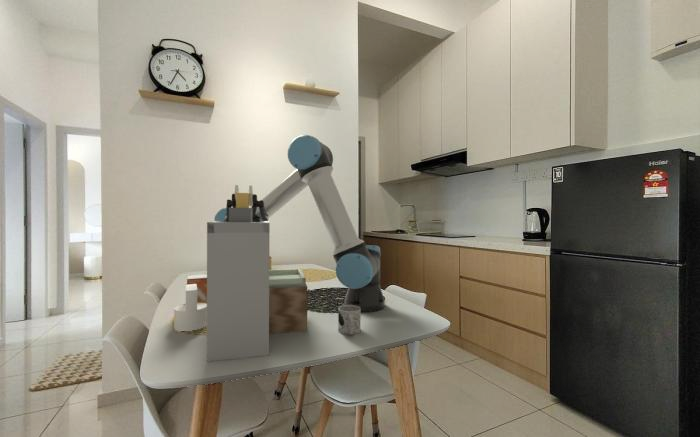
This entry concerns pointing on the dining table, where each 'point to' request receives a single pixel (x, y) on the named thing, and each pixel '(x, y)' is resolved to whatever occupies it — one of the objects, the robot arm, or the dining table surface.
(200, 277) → the small box
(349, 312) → the mug
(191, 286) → the base with upright slab
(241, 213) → the yellow grey boxy piece
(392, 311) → the dining table surface
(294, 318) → the riser
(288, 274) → the tray
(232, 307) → the grey tall block
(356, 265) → the robot arm
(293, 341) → the dining table surface
